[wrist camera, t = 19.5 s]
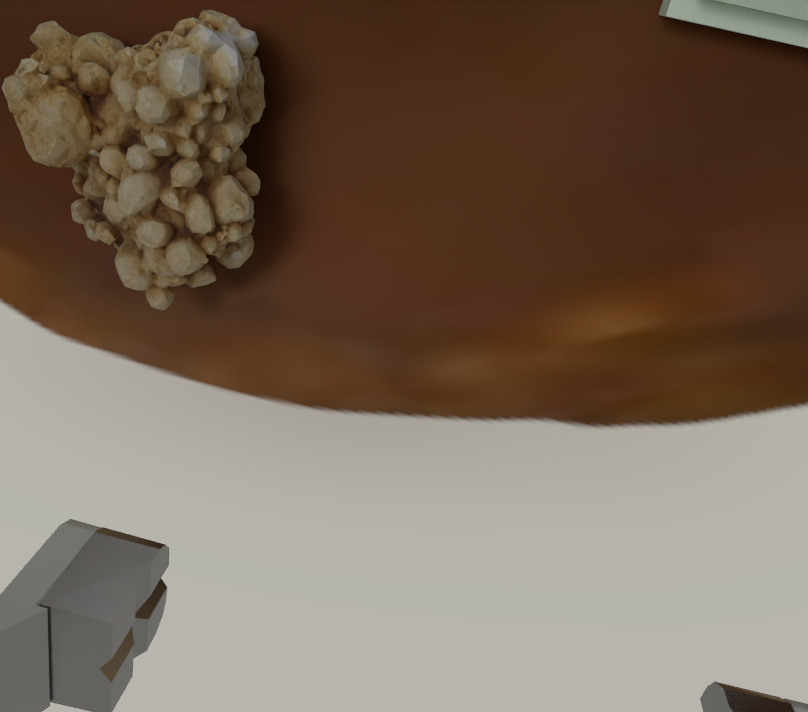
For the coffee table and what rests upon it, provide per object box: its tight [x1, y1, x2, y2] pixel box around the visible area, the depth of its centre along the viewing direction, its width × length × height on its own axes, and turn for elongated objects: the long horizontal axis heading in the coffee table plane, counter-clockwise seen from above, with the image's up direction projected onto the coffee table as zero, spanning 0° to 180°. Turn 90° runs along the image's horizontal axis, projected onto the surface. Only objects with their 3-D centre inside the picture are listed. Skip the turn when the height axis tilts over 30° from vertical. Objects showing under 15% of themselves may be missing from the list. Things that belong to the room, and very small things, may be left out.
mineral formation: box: [2, 10, 266, 310], centre depth 40 cm, size 8×13×15 cm
